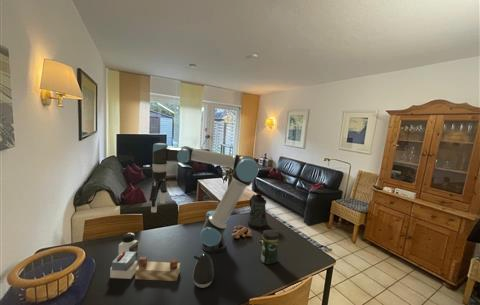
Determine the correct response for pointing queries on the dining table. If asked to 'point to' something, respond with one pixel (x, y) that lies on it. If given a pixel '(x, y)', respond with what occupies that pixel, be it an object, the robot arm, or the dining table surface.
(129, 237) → the medicine bottle
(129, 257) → the lever cap
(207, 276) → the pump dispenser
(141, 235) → the dining table surface
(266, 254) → the coffee jar
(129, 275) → the block
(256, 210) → the beer stein
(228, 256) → the dining table surface
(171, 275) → the cream wooden plank
